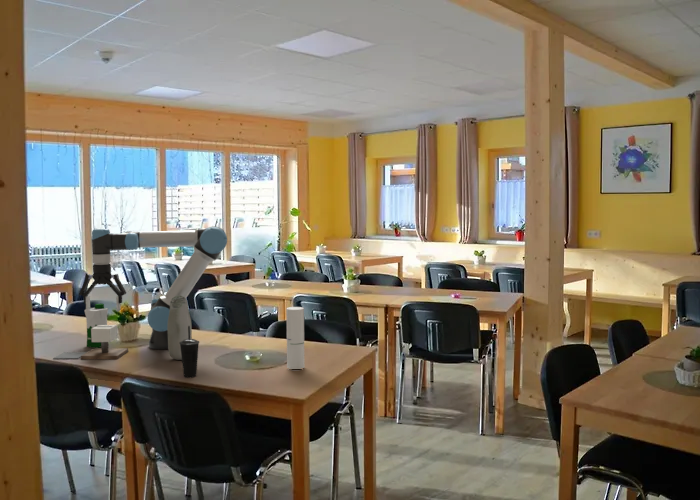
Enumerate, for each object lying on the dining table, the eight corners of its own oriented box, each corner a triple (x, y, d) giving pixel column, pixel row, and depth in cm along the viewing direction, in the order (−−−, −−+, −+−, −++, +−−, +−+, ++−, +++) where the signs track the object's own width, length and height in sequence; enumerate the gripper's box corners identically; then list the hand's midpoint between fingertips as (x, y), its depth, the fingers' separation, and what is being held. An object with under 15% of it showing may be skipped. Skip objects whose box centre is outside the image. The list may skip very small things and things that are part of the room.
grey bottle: (167, 357, 281) (165, 295, 279) (191, 355, 285) (189, 293, 283) (169, 363, 272) (167, 298, 270) (193, 360, 276) (192, 296, 274)
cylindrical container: (295, 364, 268) (294, 306, 266) (308, 367, 263) (307, 308, 261) (283, 368, 262) (282, 308, 260) (296, 371, 258) (295, 310, 256)
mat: (88, 353, 291) (88, 352, 291) (78, 359, 280) (78, 357, 280) (64, 353, 291) (64, 352, 291) (53, 359, 280) (53, 358, 280)
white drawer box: (117, 338, 290) (116, 324, 290) (110, 342, 282) (110, 328, 281) (99, 338, 290) (98, 324, 290) (91, 342, 282) (91, 328, 281)
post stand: (128, 351, 294) (127, 325, 293) (117, 359, 280) (116, 332, 279) (93, 351, 293) (92, 326, 293) (81, 359, 280) (80, 332, 279)
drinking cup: (201, 373, 256) (200, 324, 254) (197, 378, 248) (196, 327, 247) (182, 373, 255) (181, 324, 254) (178, 378, 248) (176, 328, 246)
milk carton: (111, 344, 308) (110, 304, 306) (96, 348, 299) (95, 306, 298) (98, 343, 311) (96, 302, 310) (83, 347, 303) (81, 305, 302)
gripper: (132, 262, 287) (134, 309, 289) (77, 262, 287) (79, 309, 289) (126, 264, 280) (128, 311, 281) (70, 264, 280) (72, 312, 281)
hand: (103, 310), depth 285 cm, fingers open, 13 cm apart
